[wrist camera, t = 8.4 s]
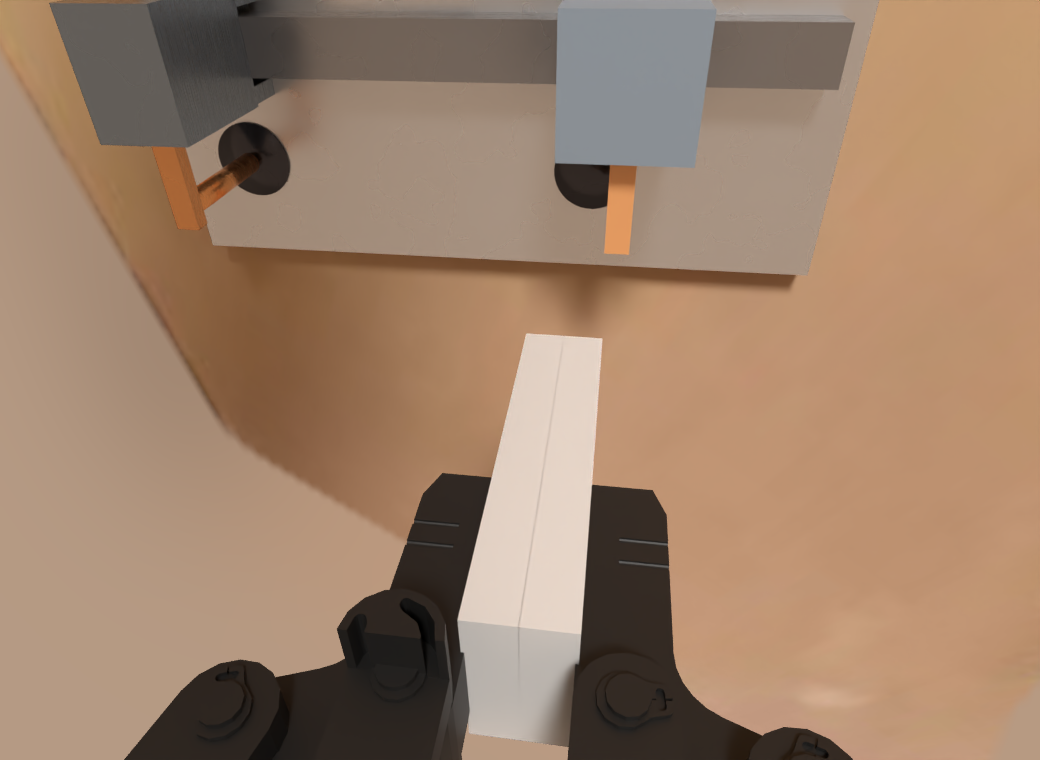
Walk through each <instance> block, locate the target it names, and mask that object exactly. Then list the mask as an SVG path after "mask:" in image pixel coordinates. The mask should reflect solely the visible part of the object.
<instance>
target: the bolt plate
mask: <svg viewBox="0 0 1040 760" xmlns="http://www.w3.org/2000/svg"><path fill="white" fill-rule="evenodd" d="M562 1H563V0H62V1H57V2H52V3H49V4H50V7H51V9H52V12H53V15H54V18H55V20H56V23H57V26H58V29H59V31H60V34H61V37H62V40H63V42H64V45H65V48H66V51H67V53H68V56H69V59H70V62H71V64H72V67H73V70H74V73H75V75H76V78H77V81H78V84H79V86H80V89H81V92H82V95H83V97H84V100H85V103H86V106H87V108H88V111H89V114H90V117H91V119H92V122H93V125H94V128H95V130H96V133H97V136H98V139H99V141H100V144H101V145H124V146H152V149H153V152H154V155H155V159H156V162H157V165H158V168H159V171H160V174H161V177H162V180H163V183H164V187H165V190H166V193H167V196H168V199H169V202H170V205H171V208H172V211H173V215H174V218H175V221H176V224H177V227H178V229H188V230H200V229H201V228H202V227H204V226H205V225H206V224H207V226H208V230H209V233H210V237H211V240H212V243H213V245H217V246H237V247H257V248H276V249H296V250H316V251H335V252H355V253H375V254H394V255H414V256H434V257H453V258H473V259H493V260H512V261H532V262H551V263H571V264H591V265H610V266H630V267H650V268H669V269H689V270H709V271H728V272H748V273H768V274H787V275H808V272H809V268H810V264H811V260H812V256H813V252H814V249H815V245H816V241H817V237H818V233H819V229H820V226H821V222H822V218H823V214H824V210H825V206H826V203H827V199H828V195H829V191H830V187H831V183H832V179H833V176H834V172H835V168H836V164H837V160H838V156H839V153H840V149H841V145H842V141H843V137H844V133H845V130H846V126H847V122H848V118H849V114H850V110H851V107H852V103H853V99H854V95H855V91H856V87H857V84H858V80H859V76H860V72H861V68H862V64H863V61H864V57H865V53H866V49H867V45H868V41H869V38H870V34H871V30H872V26H873V22H874V18H875V15H876V11H877V7H878V3H879V0H711V2H712V3H713V5H714V6H715V8H716V9H717V11H716V18H715V25H714V33H713V40H712V47H711V54H710V61H709V68H708V76H707V83H706V90H705V97H704V104H703V111H702V119H701V126H700V133H699V140H698V147H697V154H696V162H695V168H683V167H653V166H637V170H636V181H635V192H634V204H633V215H632V226H631V237H630V248H629V255H625V254H604V249H605V234H606V219H607V204H608V189H609V174H610V165H594V164H565V163H555V122H556V69H557V17H558V7H559V5H560V4H561V2H562Z"/></svg>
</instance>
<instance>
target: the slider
mask: <svg viewBox="0 0 1040 760" xmlns="http://www.w3.org/2000/svg"><path fill="white" fill-rule="evenodd" d="M716 11H717V9H716V8H715V6H714V5H713V3H712V2H711V0H563V1H562V2H561V4H560V5H559V7H558V17H557V69H556V122H555V163H565V164H594V165H610V174H609V189H608V204H607V219H606V234H605V249H604V254H625V255H629V248H630V237H631V226H632V215H633V204H634V192H635V181H636V170H637V166H653V167H683V168H695V162H696V154H697V147H698V140H699V133H700V126H701V119H702V111H703V104H704V97H705V90H706V83H707V76H708V68H709V61H710V54H711V47H712V40H713V33H714V25H715V18H716Z"/></svg>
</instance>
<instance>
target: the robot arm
mask: <svg viewBox="0 0 1040 760" xmlns="http://www.w3.org/2000/svg"><path fill="white" fill-rule="evenodd" d="M601 351H602V338H588V337H573V336H558V335H543V334H527V333H526V338H525V342H524V346H523V350H522V354H521V358H520V362H519V367H518V371H517V375H516V379H515V383H514V387H513V391H512V396H511V400H510V404H509V408H508V412H507V416H506V421H505V425H504V429H503V433H502V437H501V441H500V445H499V450H498V454H497V458H496V462H495V466H494V470H493V474H492V478H490V477H479V476H468V475H457V474H446V473H442V474H441V475H440V476H439V477H438V479H437V480H436V481H435V482H434V483H433V484H432V485H431V486H430V487H429V488H428V489H427V490H426V491H425V492H424V493H423V495H422V498H421V501H420V504H419V507H418V510H417V513H416V516H415V519H414V524H412V527H411V530H410V533H409V536H408V539H407V545H405V547H404V550H403V553H402V556H401V559H400V562H399V565H398V568H397V571H396V574H395V576H394V579H393V582H392V585H391V588H390V590H384V591H381V592H379V593H376V594H374V595H371V596H369V597H366V598H364V599H363V600H362V601H360V602H359V603H358V604H357V605H355V606H354V607H353V608H352V609H350V610H349V611H348V612H347V614H346V615H345V617H344V618H343V620H342V622H341V623H340V625H339V626H338V628H337V631H338V635H339V638H340V642H341V646H342V649H343V653H344V656H345V659H344V660H342V661H340V662H338V663H336V664H333V665H330V666H327V667H323V668H320V669H315V670H311V671H305V672H300V673H296V674H291V675H285V676H280V677H275V676H274V674H273V673H272V672H271V671H270V670H268V669H267V668H266V667H264V666H263V665H262V664H260V663H258V662H252V661H246V660H236V661H231V662H226V663H220V664H218V665H216V666H214V667H212V668H210V669H209V670H207V671H205V672H203V673H201V674H199V675H198V676H197V677H196V678H194V679H193V680H192V681H191V682H190V683H189V684H188V685H187V686H186V687H185V688H184V689H183V690H181V691H180V693H179V694H178V695H177V696H176V698H175V699H174V700H173V701H172V703H171V704H170V705H169V706H168V707H167V708H166V710H165V711H164V712H163V713H162V714H161V716H160V717H159V718H158V719H157V721H156V722H155V723H154V724H153V725H152V727H151V728H150V729H149V730H148V731H147V733H146V734H145V735H144V736H143V737H142V739H141V740H140V741H139V742H138V744H137V745H136V746H135V747H134V748H133V750H132V751H131V752H130V754H128V756H127V757H126V758H125V759H124V760H462V756H461V753H462V748H463V743H464V738H465V733H466V728H467V723H468V727H469V733H470V734H476V735H483V736H491V737H498V738H506V739H514V740H520V741H528V742H535V743H536V742H537V743H543V744H551V745H558V746H565V747H569V750H568V760H853V759H852V758H851V757H850V756H849V755H848V754H847V753H845V752H844V751H843V750H842V749H841V748H840V747H838V746H837V745H836V744H835V743H834V742H832V741H831V740H830V739H828V738H826V737H823V736H821V735H819V734H817V733H814V732H812V731H810V730H808V729H800V728H788V727H783V728H780V729H777V730H774V731H771V732H768V733H766V734H764V735H763V736H762V735H760V734H757V733H755V732H753V731H751V730H749V729H746V728H744V727H742V726H740V725H738V724H735V723H733V722H731V721H729V720H727V719H725V718H722V717H721V716H719V715H717V714H716V713H714V712H712V711H710V710H709V709H707V708H706V707H705V706H704V705H702V704H701V703H700V702H699V701H698V700H697V699H696V698H695V697H693V695H692V694H691V693H690V691H689V690H688V689H687V687H686V686H685V685H684V683H683V682H682V680H681V677H680V675H679V673H678V671H677V669H676V664H675V659H674V654H673V635H672V615H671V594H670V574H669V554H668V534H667V515H666V513H665V511H664V510H663V508H662V506H661V504H660V503H659V501H658V499H657V497H656V496H655V494H654V492H653V490H643V489H632V488H621V487H610V486H599V485H592V476H593V462H594V448H595V434H596V420H597V406H598V393H599V379H600V365H601Z"/></svg>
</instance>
